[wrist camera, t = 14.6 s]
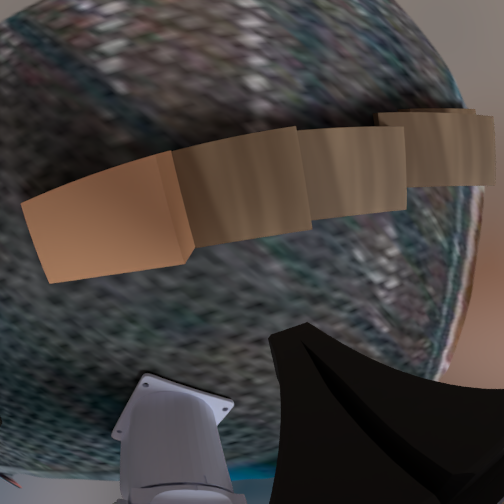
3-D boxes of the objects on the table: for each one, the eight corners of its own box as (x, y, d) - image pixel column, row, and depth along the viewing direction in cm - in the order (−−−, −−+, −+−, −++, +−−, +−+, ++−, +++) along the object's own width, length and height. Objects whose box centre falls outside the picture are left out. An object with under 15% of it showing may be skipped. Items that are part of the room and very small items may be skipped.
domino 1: (49, 283, 15) (184, 263, 13) (20, 203, 13) (155, 154, 12) (67, 268, 17) (195, 247, 15) (41, 194, 15) (170, 150, 13)
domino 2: (142, 256, 16) (312, 229, 15) (116, 167, 14) (295, 126, 13) (155, 243, 18) (307, 217, 16) (132, 162, 16) (292, 126, 15)
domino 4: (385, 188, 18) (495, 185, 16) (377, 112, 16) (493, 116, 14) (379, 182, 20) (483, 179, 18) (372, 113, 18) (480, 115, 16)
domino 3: (259, 227, 17) (406, 209, 16) (246, 136, 15) (403, 126, 15) (257, 217, 19) (392, 201, 18) (246, 136, 17) (388, 126, 16)
